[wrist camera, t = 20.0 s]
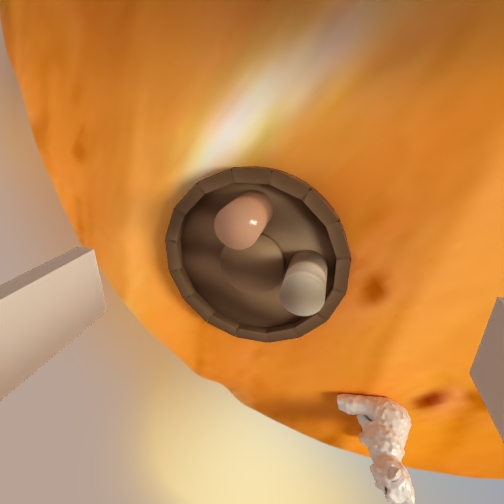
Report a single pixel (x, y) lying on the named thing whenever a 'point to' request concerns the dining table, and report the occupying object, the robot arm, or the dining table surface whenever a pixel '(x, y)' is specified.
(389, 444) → the seated beast figurine
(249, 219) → the pinkish brown egg
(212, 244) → the groove tray
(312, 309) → the cream bead
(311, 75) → the dining table surface
